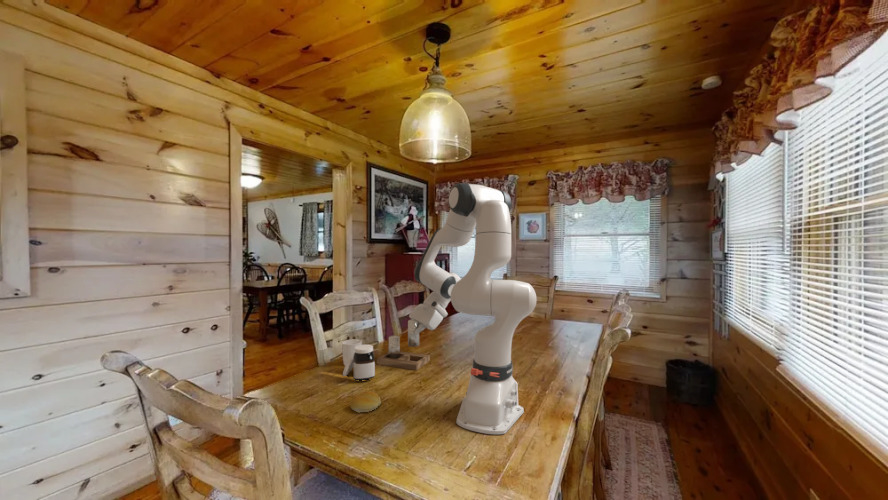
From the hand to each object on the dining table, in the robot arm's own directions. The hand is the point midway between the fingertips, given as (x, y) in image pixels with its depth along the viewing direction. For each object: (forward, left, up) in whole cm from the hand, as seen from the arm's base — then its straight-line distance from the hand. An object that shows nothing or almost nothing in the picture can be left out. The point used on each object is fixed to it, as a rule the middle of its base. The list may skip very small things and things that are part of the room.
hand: (412, 332), depth 137 cm
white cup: (-9, +23, -14) cm, 29 cm away
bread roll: (-35, -3, -15) cm, 38 cm away
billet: (+1, 0, -5) cm, 5 cm away
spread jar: (-18, +13, -14) cm, 26 cm away
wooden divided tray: (0, +4, -14) cm, 15 cm away
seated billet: (0, +9, -13) cm, 16 cm away
